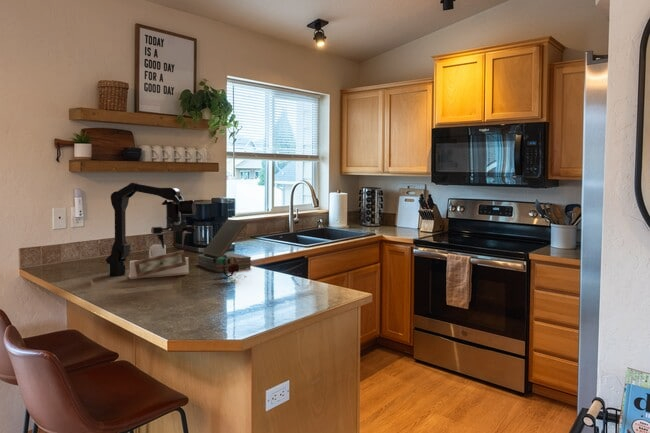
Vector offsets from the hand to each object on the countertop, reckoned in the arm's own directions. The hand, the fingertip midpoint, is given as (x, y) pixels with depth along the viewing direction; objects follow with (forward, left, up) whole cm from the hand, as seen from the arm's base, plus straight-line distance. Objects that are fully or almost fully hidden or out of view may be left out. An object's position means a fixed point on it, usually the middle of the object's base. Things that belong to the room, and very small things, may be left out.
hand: (173, 248), depth 223 cm
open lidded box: (+30, +15, -14) cm, 36 cm away
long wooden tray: (-6, +2, -13) cm, 14 cm away
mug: (-2, +29, -13) cm, 32 cm away
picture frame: (-6, 0, -7) cm, 9 cm away
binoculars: (+21, -12, -13) cm, 28 cm away
